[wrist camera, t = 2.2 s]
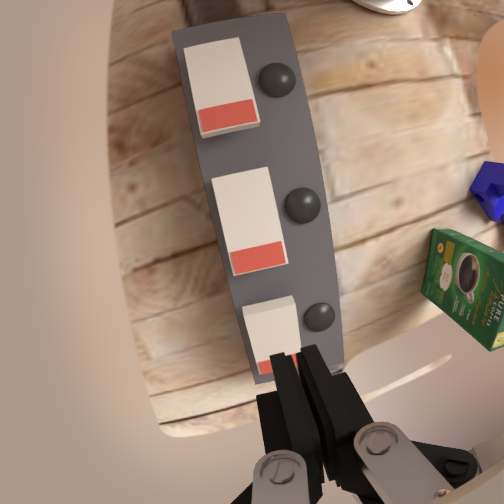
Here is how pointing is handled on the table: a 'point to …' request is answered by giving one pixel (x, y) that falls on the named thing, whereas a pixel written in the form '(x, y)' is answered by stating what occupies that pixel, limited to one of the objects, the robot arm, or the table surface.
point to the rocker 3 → (272, 330)
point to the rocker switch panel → (274, 180)
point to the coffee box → (467, 285)
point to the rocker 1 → (221, 87)
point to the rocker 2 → (250, 221)
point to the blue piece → (490, 189)
